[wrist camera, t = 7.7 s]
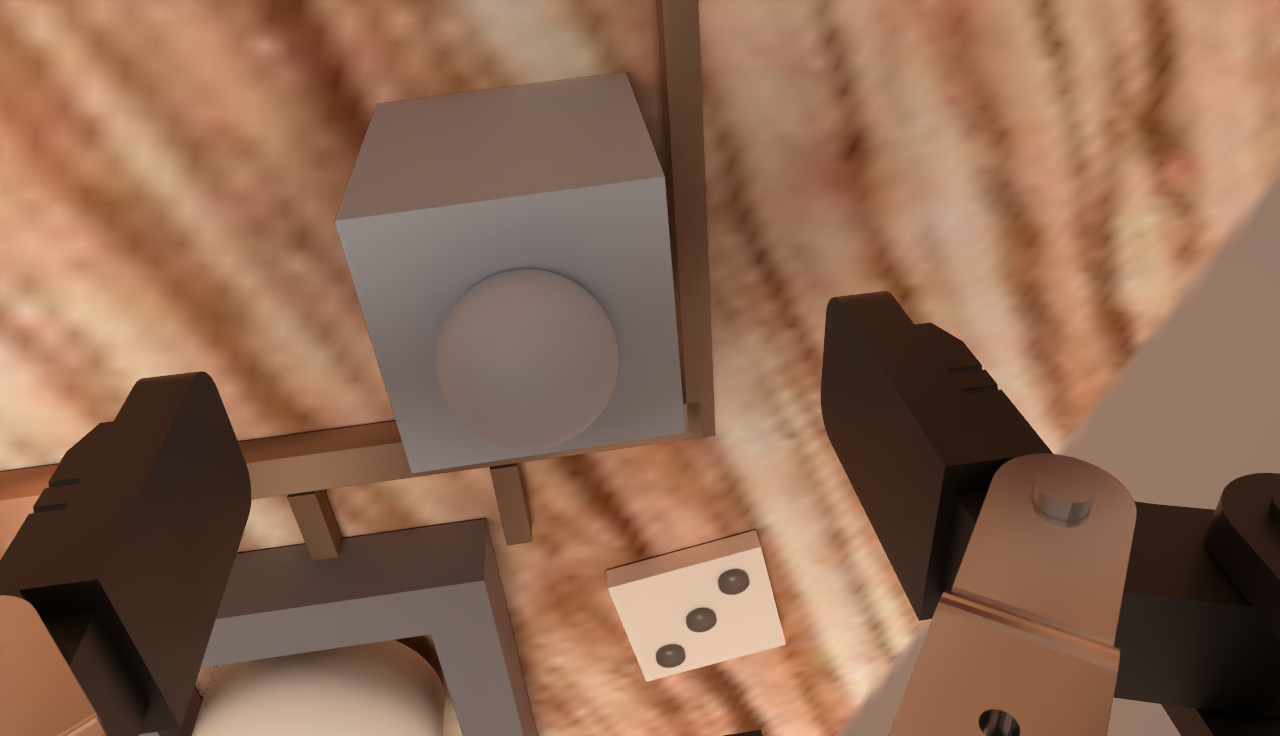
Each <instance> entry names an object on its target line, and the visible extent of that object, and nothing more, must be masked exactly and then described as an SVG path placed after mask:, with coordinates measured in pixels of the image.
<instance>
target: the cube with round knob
mask: <svg viewBox="0 0 1280 736" xmlns="http://www.w3.org/2000/svg"><path fill="white" fill-rule="evenodd" d="M334 222H335V225H336V228H337V232H338V235H339V238H340V241H341V245H342V248H343V251H344V254H345V258H346V261H347V264H348V267H349V271H350V274H351V277H352V280H353V283H354V287H355V290H356V293H357V296H358V300H359V303H360V306H361V309H362V313H363V316H364V319H365V322H366V326H367V329H368V332H369V335H370V339H371V342H372V345H373V348H374V352H375V355H376V358H377V361H378V365H379V368H380V371H381V374H382V378H383V381H384V384H385V387H386V391H387V394H388V397H389V400H390V404H391V407H392V410H393V413H394V417H395V420H396V423H397V426H398V430H399V433H400V436H401V439H402V443H403V446H404V449H405V452H406V456H407V459H408V462H409V465H410V469H411V472H412V473H418V472H425V471H431V470H438V469H445V468H451V467H458V466H465V465H472V464H478V463H485V462H492V461H499V460H505V459H512V458H519V457H525V456H532V455H539V454H546V453H552V452H559V451H566V450H572V449H579V448H586V447H593V446H599V445H606V444H613V443H619V442H626V441H633V440H640V439H646V438H653V437H660V436H667V435H673V434H680V433H685V421H684V409H683V397H682V384H681V372H680V359H679V347H678V335H677V322H676V310H675V298H674V285H673V273H672V261H671V248H670V236H669V224H668V211H667V199H666V187H665V176H664V173H663V171H662V168H661V165H660V163H659V160H658V157H657V155H656V152H655V149H654V146H653V144H652V141H651V138H650V136H649V133H648V130H647V128H646V125H645V122H644V120H643V117H642V114H641V111H640V109H639V106H638V103H637V101H636V98H635V95H634V93H633V90H632V87H631V85H630V82H629V79H628V76H627V74H626V72H619V73H611V74H603V75H595V76H587V77H580V78H572V79H564V80H556V81H549V82H541V83H533V84H525V85H517V86H510V87H502V88H494V89H486V90H479V91H471V92H463V93H455V94H448V95H440V96H432V97H424V98H416V99H409V100H401V101H393V102H385V103H378V104H377V105H376V107H375V110H374V113H373V116H372V118H371V121H370V124H369V127H368V129H367V132H366V135H365V138H364V140H363V143H362V146H361V149H360V152H359V154H358V157H357V160H356V163H355V165H354V168H353V171H352V174H351V176H350V179H349V182H348V185H347V187H346V190H345V193H344V196H343V198H342V201H341V204H340V207H339V210H338V212H337V215H336V218H335V221H334Z"/></svg>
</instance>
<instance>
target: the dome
mask: <svg viewBox="0 0 1280 736" xmlns="http://www.w3.org/2000/svg"><path fill="white" fill-rule="evenodd" d="M444 706H445V694H444V689H443V685H442V683H441V681H440V678H439V676H438V675H437V673H436V672H435V670H434V669H433V667H432V666H431V665H430V664H429V663H428V662H427V661H426V660H425V659H424V658H423V657H422V656H420V655H419V654H418V653H417V652H415V651H414V650H412V649H411V648H409V647H407V646H406V645H404V644H402V643H400V642H398V641H396V640H388V641H381V642H375V643H368V644H361V645H354V646H347V647H341V648H334V649H327V650H320V651H313V652H307V653H300V654H293V655H286V656H279V657H273V658H266V659H259V660H252V661H245V662H239V663H232V664H225V665H218V666H217V668H216V669H215V670H214V672H213V673H212V676H211V678H210V680H209V682H208V685H207V689H206V692H205V695H204V698H203V701H202V704H201V707H200V711H199V714H198V717H197V720H196V723H195V726H194V729H193V733H192V736H443V721H444Z"/></svg>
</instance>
